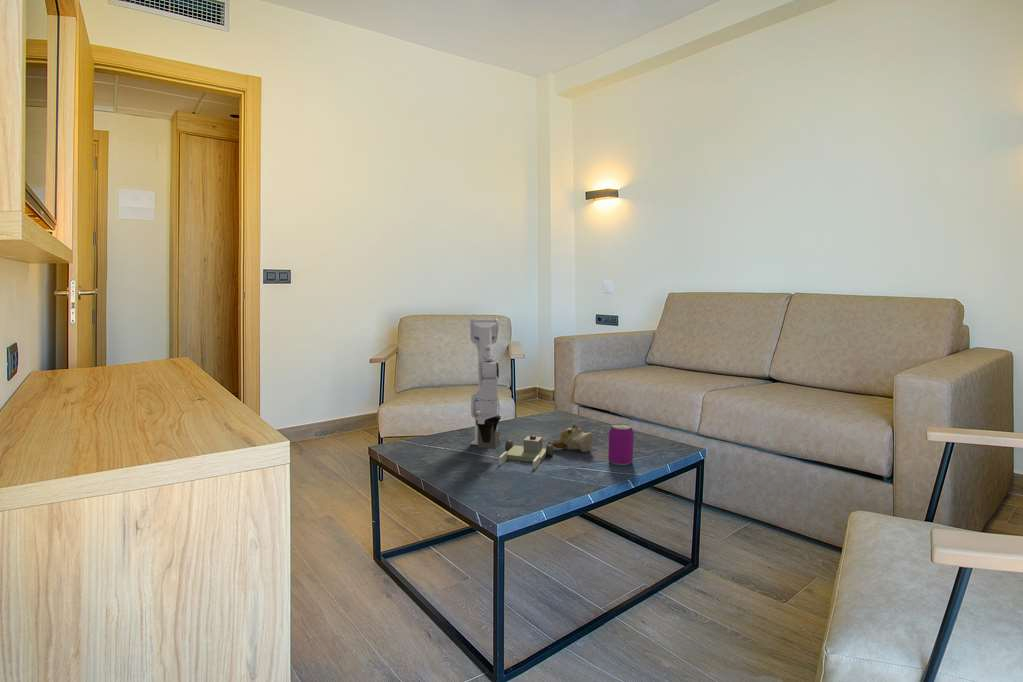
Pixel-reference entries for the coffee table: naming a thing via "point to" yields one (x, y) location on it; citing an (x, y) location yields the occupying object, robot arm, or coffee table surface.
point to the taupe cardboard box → (493, 439)
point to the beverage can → (621, 444)
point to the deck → (527, 451)
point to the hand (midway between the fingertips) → (488, 440)
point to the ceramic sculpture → (574, 439)
